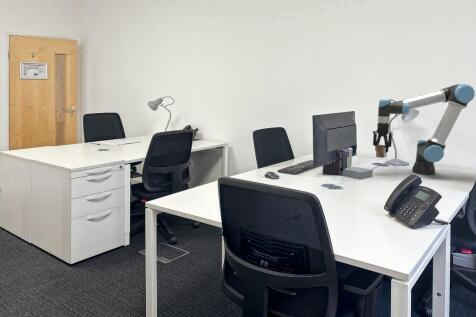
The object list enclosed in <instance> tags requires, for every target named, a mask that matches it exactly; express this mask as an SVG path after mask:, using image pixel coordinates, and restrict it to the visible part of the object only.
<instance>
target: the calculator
mask: <svg viewBox="0 0 476 317" xmlns="http://www.w3.org/2000/svg"><path fill="white" fill-rule="evenodd" d="M340 158H341V153H337V160H336V161H335V162H332V163H329V164H326V165H323V164H322V174H323V175H332V176H333V175H335V176H340V170H341V169H340Z"/></svg>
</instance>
